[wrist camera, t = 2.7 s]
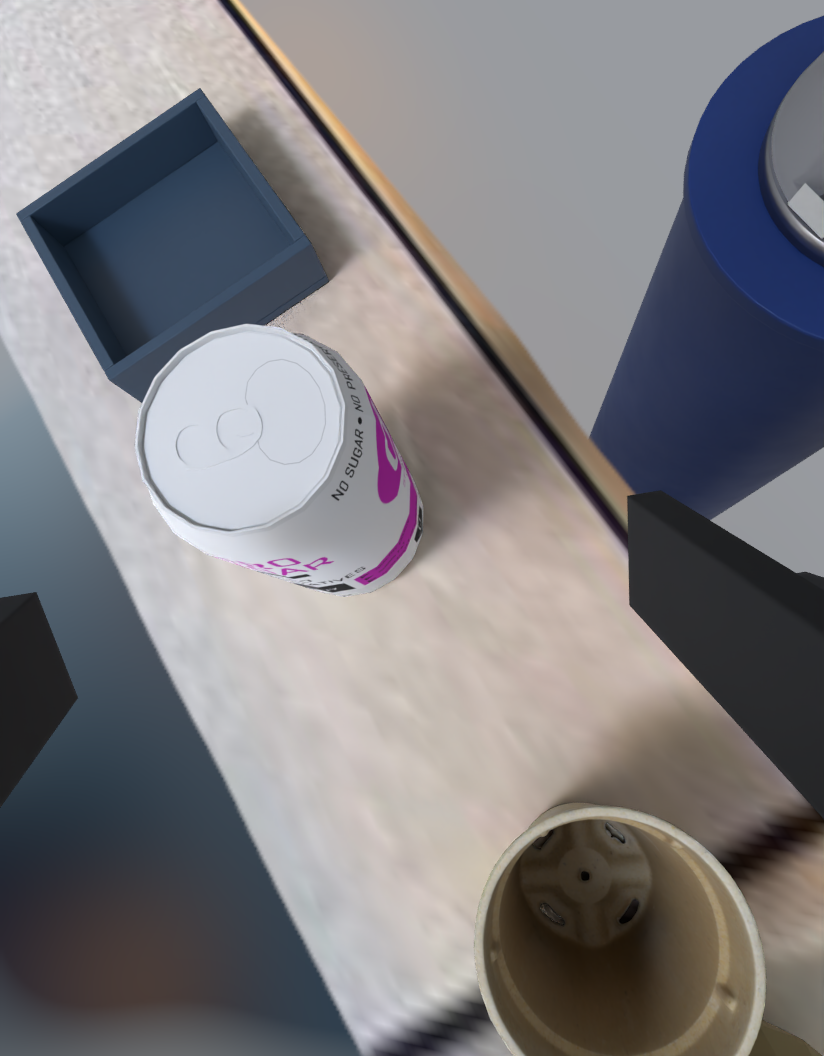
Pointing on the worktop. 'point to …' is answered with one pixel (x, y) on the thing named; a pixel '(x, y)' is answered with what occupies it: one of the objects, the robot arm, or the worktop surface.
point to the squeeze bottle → (779, 1043)
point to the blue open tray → (169, 243)
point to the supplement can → (278, 461)
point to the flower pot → (617, 942)
